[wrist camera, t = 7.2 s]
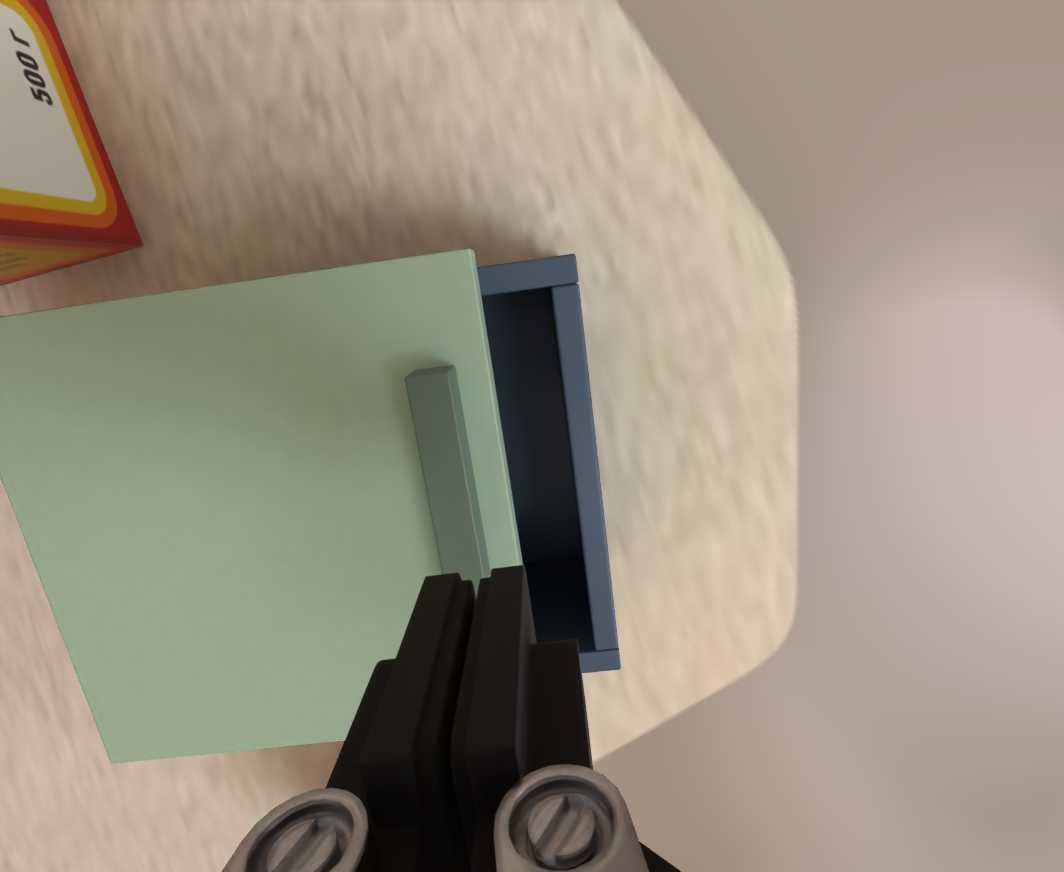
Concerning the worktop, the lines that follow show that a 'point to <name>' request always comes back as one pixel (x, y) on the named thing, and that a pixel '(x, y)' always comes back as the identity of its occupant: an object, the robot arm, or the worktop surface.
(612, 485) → the worktop surface
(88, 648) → the bin lid
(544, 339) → the storage bin
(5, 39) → the baking soda box
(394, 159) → the worktop surface
